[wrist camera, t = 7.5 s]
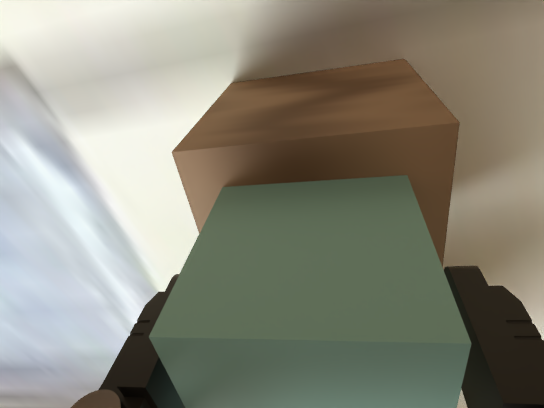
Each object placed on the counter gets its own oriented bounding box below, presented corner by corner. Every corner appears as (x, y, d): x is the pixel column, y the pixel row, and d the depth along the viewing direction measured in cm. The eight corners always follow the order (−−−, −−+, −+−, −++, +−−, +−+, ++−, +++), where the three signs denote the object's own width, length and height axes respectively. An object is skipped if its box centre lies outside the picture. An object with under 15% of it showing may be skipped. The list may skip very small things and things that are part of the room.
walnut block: (404, 58, 16) (459, 122, 9) (399, 208, 20) (435, 327, 13) (231, 82, 17) (171, 152, 11) (261, 216, 22) (231, 326, 15)
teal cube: (407, 175, 10) (471, 344, 6) (399, 307, 13) (437, 489, 8) (222, 187, 11) (148, 336, 7) (253, 307, 14) (216, 468, 9)
